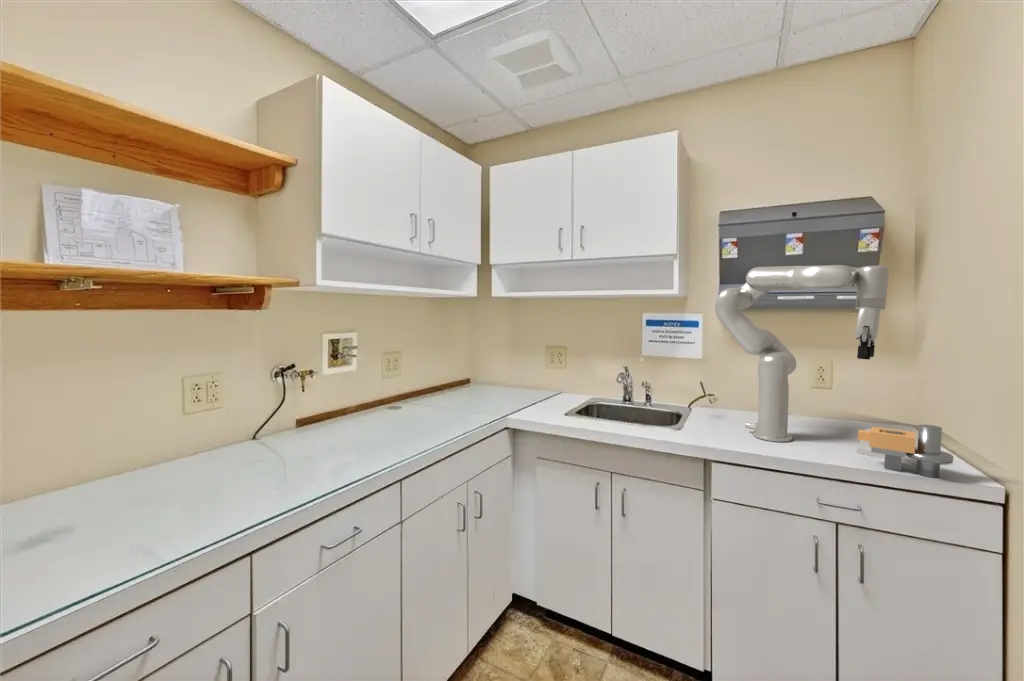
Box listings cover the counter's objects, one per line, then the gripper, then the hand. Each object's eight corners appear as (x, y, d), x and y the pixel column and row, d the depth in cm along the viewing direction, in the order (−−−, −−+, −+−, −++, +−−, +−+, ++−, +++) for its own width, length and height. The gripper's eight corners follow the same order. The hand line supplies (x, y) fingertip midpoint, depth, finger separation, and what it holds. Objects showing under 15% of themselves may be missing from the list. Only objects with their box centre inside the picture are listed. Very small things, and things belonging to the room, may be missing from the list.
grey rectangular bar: (884, 468, 133) (886, 432, 132) (884, 466, 135) (886, 430, 134) (900, 471, 131) (902, 434, 130) (900, 468, 132) (902, 432, 132)
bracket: (914, 447, 132) (915, 432, 132) (914, 453, 126) (915, 438, 126) (859, 439, 141) (859, 424, 140) (856, 444, 135) (857, 430, 134)
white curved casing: (854, 452, 148) (860, 423, 149) (859, 454, 150) (864, 425, 151) (921, 466, 134) (926, 434, 135) (925, 469, 136) (930, 437, 138)
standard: (950, 474, 128) (953, 426, 127) (953, 484, 120) (956, 433, 119) (872, 460, 140) (874, 416, 139) (870, 469, 132) (872, 422, 131)
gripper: (859, 304, 151) (854, 354, 153) (851, 304, 139) (846, 358, 141) (888, 305, 146) (883, 356, 148) (882, 304, 134) (877, 361, 135)
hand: (865, 357), depth 144 cm, fingers open, 9 cm apart
